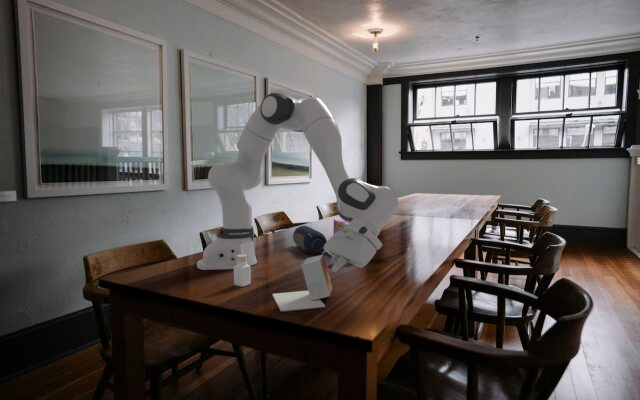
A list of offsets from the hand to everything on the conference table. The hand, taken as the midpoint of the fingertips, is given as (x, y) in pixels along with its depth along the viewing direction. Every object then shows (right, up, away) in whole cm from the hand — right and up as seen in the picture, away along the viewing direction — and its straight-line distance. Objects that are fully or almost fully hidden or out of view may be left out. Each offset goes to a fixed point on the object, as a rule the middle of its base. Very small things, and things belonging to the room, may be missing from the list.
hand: (330, 269), depth 115 cm
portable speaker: (-8, -3, +64) cm, 64 cm away
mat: (-9, -8, -3) cm, 13 cm away
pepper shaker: (-28, -7, +12) cm, 31 cm away
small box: (-2, -7, 0) cm, 7 cm away
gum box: (+10, -3, +57) cm, 58 cm away
